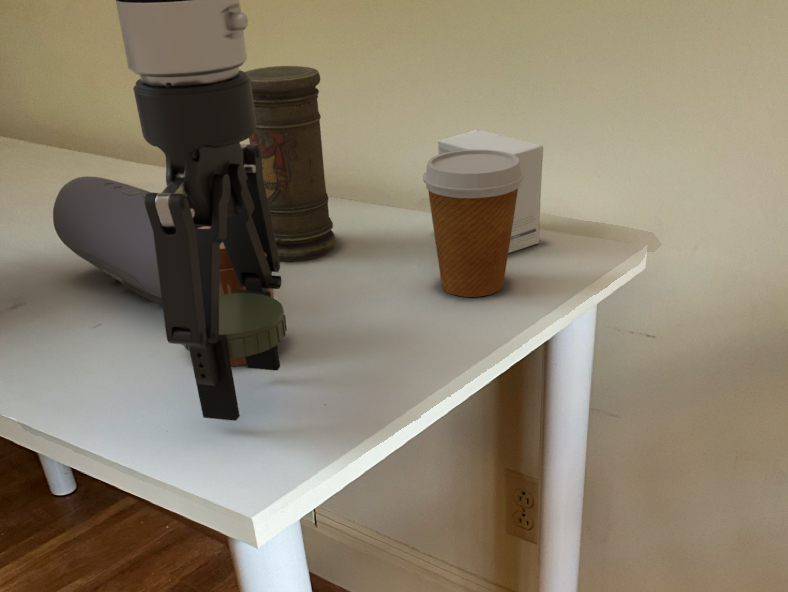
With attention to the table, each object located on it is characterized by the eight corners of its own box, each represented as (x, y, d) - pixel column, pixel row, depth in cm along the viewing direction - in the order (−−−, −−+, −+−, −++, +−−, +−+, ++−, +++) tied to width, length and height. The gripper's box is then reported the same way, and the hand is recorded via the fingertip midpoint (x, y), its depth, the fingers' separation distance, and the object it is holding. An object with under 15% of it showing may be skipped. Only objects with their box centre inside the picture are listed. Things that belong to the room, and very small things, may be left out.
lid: (301, 319, 70) (299, 296, 69) (262, 363, 64) (258, 339, 63) (209, 311, 72) (205, 289, 71) (163, 354, 66) (157, 330, 65)
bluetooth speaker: (252, 305, 88) (237, 202, 82) (171, 334, 83) (148, 227, 77) (138, 253, 101) (118, 161, 95) (62, 276, 97) (36, 180, 91)
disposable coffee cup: (495, 310, 85) (498, 179, 77) (408, 294, 89) (404, 169, 81) (534, 276, 91) (540, 153, 84) (451, 263, 95) (450, 144, 88)
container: (310, 229, 106) (293, 61, 95) (351, 248, 100) (338, 71, 89) (243, 247, 102) (217, 73, 91) (282, 267, 96) (259, 84, 85)
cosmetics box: (437, 234, 103) (435, 138, 96) (479, 222, 106) (480, 127, 99) (497, 257, 96) (500, 155, 89) (541, 243, 99) (546, 143, 92)
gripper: (169, 109, 48) (234, 464, 62) (301, 46, 64) (329, 340, 78) (49, 107, 50) (138, 453, 64) (206, 46, 66) (250, 334, 79)
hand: (243, 390), depth 71 cm, fingers closed on lid, 8 cm apart
